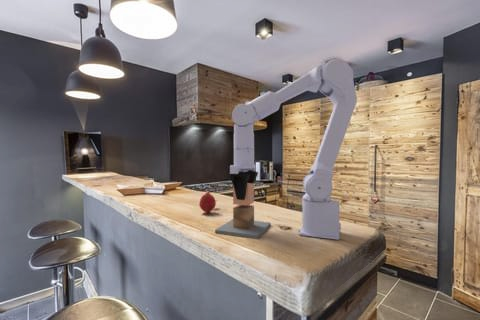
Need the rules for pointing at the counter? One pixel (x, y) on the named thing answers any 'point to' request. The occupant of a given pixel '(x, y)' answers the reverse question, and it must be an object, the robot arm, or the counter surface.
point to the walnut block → (243, 216)
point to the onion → (207, 202)
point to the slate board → (251, 233)
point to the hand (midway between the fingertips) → (244, 198)
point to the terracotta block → (248, 198)
